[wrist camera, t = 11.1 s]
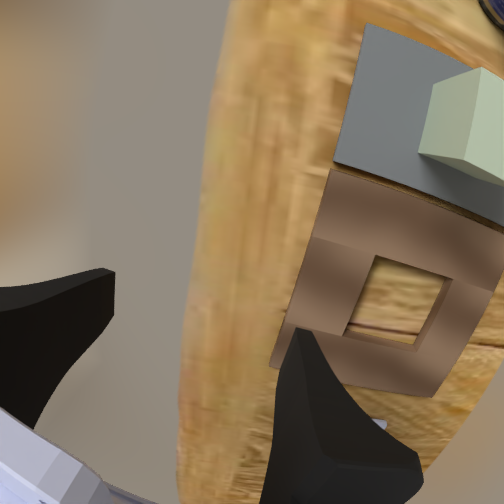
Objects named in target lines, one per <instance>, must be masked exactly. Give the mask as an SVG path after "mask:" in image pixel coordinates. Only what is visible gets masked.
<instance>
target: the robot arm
mask: <svg viewBox="0 0 504 504" xmlns="http://www.w3.org/2000/svg"><path fill="white" fill-rule="evenodd" d="M114 294H115V272H114V271H111V270H108V269H105V268H98V269H93V270H89V271H85V272H81V273H77V274H73V275H69V276H65V277H62V278H57V279H53V280H49V281H44V282H40V283H35V284H29V285H21V286H13V287H0V504H157V503H155V502H152V501H149V500H147V499H144V498H141V497H139V496H136V495H134V494H132V493H129V492H127V491H124V490H122V489H120V488H118V487H115V486H113V485H111V484H109V483H107V482H105V481H103V480H102V478H101V477H100V475H98V474H97V473H96V472H95V471H94V470H93V469H91V468H90V467H89V466H88V465H87V464H86V463H84V462H83V461H82V460H80V459H79V458H77V457H75V456H74V455H72V454H71V453H69V452H68V451H66V450H65V449H63V448H62V447H60V446H58V445H57V444H55V443H53V442H52V441H50V440H48V439H47V438H45V437H43V436H42V435H40V434H38V433H37V432H36V431H34V430H33V429H34V427H35V425H36V423H37V421H38V418H39V417H40V415H41V413H42V411H43V409H44V407H45V406H46V404H47V402H48V400H49V399H50V397H51V395H52V394H53V392H54V391H55V389H56V387H57V386H58V384H59V383H60V381H61V380H62V378H63V377H64V375H65V374H66V373H67V371H68V370H69V369H70V368H71V366H72V365H73V364H74V363H75V362H76V361H77V360H78V359H79V358H80V356H81V355H82V354H83V353H84V352H85V351H86V350H87V349H88V348H89V347H90V345H92V343H93V342H94V341H95V340H96V339H97V338H98V337H99V335H100V334H101V333H102V332H103V331H104V329H105V328H106V326H107V325H108V324H109V322H110V320H111V319H112V317H113V316H114ZM386 427H387V421H385V420H380V419H372V418H370V417H369V416H368V415H367V414H366V413H365V412H364V411H363V410H362V409H361V408H360V407H359V405H358V404H357V403H356V402H355V401H354V400H353V398H352V397H351V396H350V395H349V393H348V392H347V391H346V390H345V388H344V387H343V386H342V384H341V383H340V381H339V380H338V378H337V377H336V375H335V374H334V372H333V370H332V369H331V367H330V365H329V363H328V362H327V360H326V358H325V356H324V354H323V352H322V350H321V348H320V346H319V344H318V342H317V340H316V338H315V336H314V334H313V332H312V331H310V330H306V329H302V328H298V327H296V328H295V331H294V333H293V336H292V339H291V341H290V344H289V347H288V349H287V352H286V354H285V357H284V360H283V362H282V365H281V367H280V372H279V377H278V382H277V387H276V396H275V412H274V427H273V440H272V448H271V453H270V458H269V463H268V468H267V472H266V477H265V481H264V485H263V490H262V494H261V498H260V502H259V504H404V503H405V502H407V501H408V500H409V499H410V498H411V497H413V496H414V495H415V494H416V493H417V492H418V491H419V490H420V488H421V487H422V485H423V483H424V479H423V473H422V468H421V464H420V460H419V457H418V453H416V452H415V451H413V450H412V449H410V448H409V447H407V446H406V445H404V444H402V443H401V442H399V441H398V440H396V439H395V438H394V437H392V436H391V435H390V434H389V433H387V432H386V431H385V430H384V429H385V428H386Z"/></svg>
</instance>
